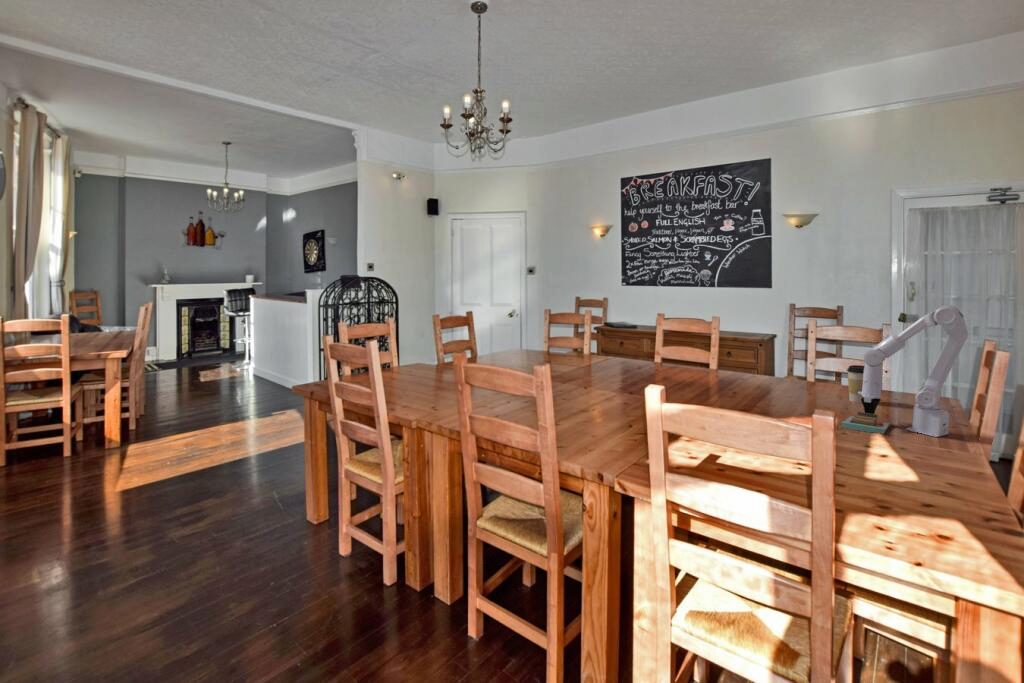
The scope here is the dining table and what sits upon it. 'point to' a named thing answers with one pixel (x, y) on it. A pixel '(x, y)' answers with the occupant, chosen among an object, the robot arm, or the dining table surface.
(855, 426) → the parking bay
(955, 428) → the dining table surface
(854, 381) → the coffee cup
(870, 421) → the brown striped block
